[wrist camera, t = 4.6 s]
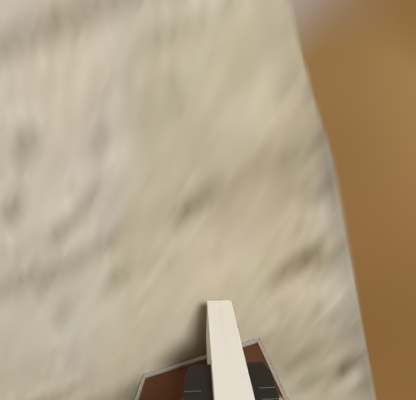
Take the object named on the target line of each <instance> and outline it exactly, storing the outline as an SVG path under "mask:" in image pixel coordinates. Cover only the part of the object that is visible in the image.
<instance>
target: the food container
mask: <svg viewBox="0 0 416 400" xmlns="http://www.w3.org/2000/svg"><path fill="white" fill-rule="evenodd" d="M241 344H242V348H243V352H244V356H245V360H246V362H263V363H264V364H265V366H266V367H267V369H268V370H269V371H270V373H271V375H272V378H273V381H274V384H275V388H276V390H277V393H278V396H279V400H288V398H287V396H286V393H285V391H284V389H283V387H282V385H281V383H280V381H279V379H278V377H277V375H276V373H275V370H274V368H273V366H272V364H271V362H270V360H269V358H268V356H267V354H266V352H265V349H264V347H263V345H262V343H261V341H260V339H259V338H256V339H253V340H250V341H247V342H244V343H241ZM206 364H207V354H206V355H203V356H200V357H197V358H194V359H190V360H187V361H184V362H181V363H178V364H175V365H172V366H169V367H165V368H162V369H159V370H156V371H153V372H150V373H147V374H143V377H142V380H141V383H140V386H139V389H138V392H137V395H136V398H135V400H183V399H184V381H185V375H186V373H187V370H188V368H189V366H190V365H206Z"/></svg>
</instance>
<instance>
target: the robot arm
mask: <svg viewBox="0 0 416 400" xmlns="http://www.w3.org/2000/svg"><path fill="white" fill-rule="evenodd" d="M206 347H207V364H206V365H190V366H189V368H188V370H187V373H186V375H185V381H184V399H183V400H279V396H278V393H277V390H276V388H275V384H274V381H273V378H272V375H271V373H270V371H269V370H268V369H267V367H266V366H265V364H264V363H263V362H246V360H245V356H244V352H243V348H242V344H241V340H240V336H239V331H238V327H237V323H236V319H235V315H234V311H233V307H232V303H231V301H207V323H206Z"/></svg>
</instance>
